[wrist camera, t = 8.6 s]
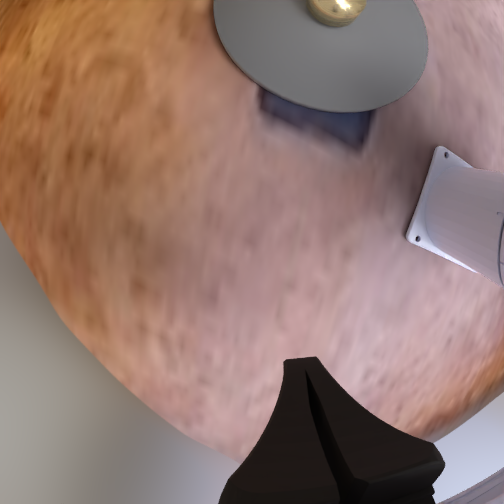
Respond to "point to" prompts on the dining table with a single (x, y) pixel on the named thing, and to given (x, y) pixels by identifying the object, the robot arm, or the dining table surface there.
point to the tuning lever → (335, 11)
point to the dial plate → (326, 52)
